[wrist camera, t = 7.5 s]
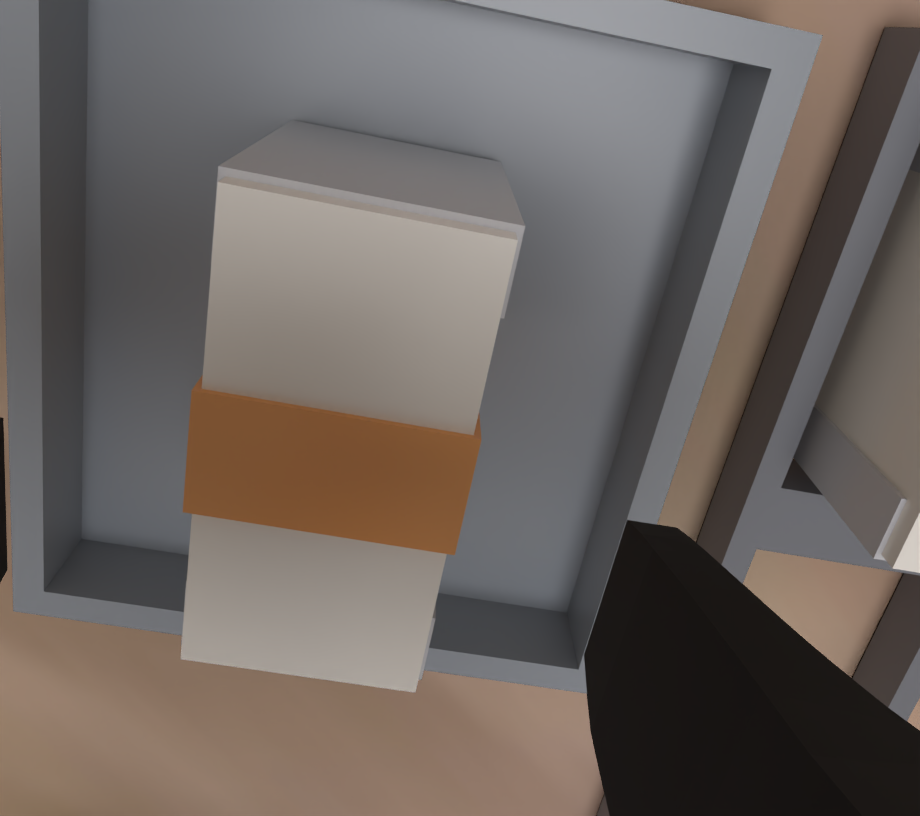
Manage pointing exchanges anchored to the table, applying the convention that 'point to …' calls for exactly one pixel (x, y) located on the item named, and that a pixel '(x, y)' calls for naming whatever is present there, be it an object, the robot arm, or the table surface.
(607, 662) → the robot arm
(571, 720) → the table surface
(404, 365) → the white and orange block
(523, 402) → the tray
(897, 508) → the block
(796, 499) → the fuse holder
